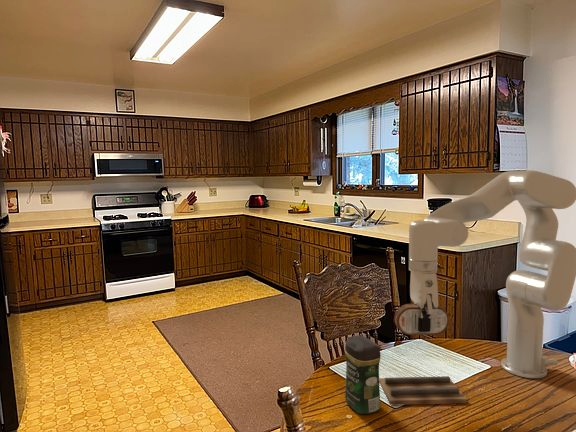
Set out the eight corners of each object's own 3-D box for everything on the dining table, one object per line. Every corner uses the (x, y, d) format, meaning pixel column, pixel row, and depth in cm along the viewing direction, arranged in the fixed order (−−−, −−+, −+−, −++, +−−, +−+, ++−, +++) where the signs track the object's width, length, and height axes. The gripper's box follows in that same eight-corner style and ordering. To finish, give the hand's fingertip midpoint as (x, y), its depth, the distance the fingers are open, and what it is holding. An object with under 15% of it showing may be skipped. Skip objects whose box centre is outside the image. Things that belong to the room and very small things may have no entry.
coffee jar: (340, 399, 111) (340, 335, 109) (364, 393, 114) (365, 330, 112) (359, 419, 102) (359, 349, 100) (385, 411, 105) (385, 343, 103)
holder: (448, 380, 120) (448, 372, 120) (466, 403, 108) (466, 393, 108) (379, 382, 120) (379, 373, 120) (389, 404, 108) (389, 395, 108)
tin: (446, 332, 114) (446, 302, 114) (450, 335, 111) (451, 305, 110) (393, 332, 114) (393, 303, 113) (396, 336, 111) (396, 306, 110)
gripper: (448, 271, 103) (447, 340, 104) (425, 258, 119) (425, 318, 121) (419, 272, 103) (418, 341, 104) (400, 259, 119) (400, 319, 120)
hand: (422, 328), depth 112 cm, fingers closed on tin, 2 cm apart
